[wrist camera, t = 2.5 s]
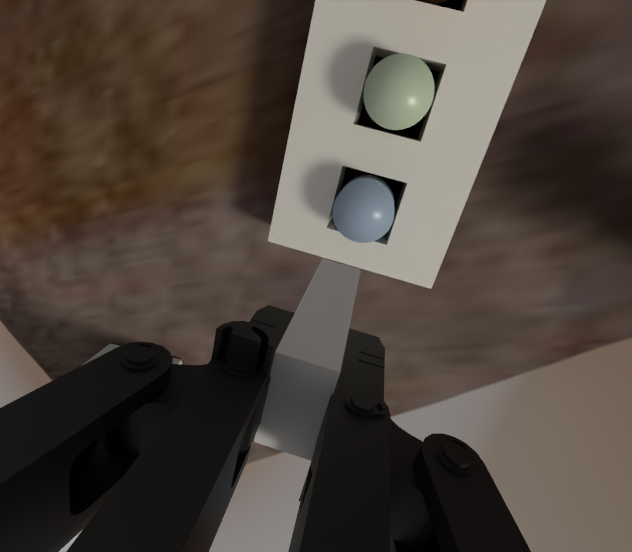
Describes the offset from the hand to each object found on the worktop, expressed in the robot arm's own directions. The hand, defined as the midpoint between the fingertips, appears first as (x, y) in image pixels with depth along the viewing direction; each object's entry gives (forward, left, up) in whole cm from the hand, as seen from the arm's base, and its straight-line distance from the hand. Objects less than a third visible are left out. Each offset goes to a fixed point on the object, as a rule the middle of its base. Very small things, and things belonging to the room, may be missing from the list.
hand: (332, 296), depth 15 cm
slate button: (0, 0, -18) cm, 18 cm away
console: (-8, 0, -21) cm, 22 cm away
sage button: (-8, 0, -18) cm, 20 cm away
